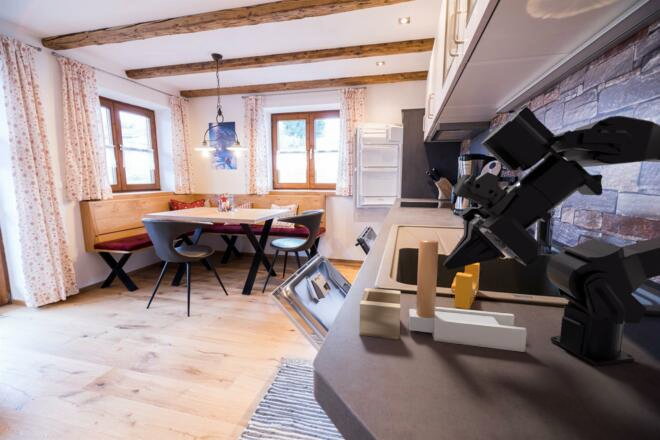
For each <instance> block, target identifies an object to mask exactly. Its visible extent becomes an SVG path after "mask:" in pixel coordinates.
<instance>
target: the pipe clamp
mask: <svg viewBox="0 0 660 440" xmlns="http://www.w3.org/2000/svg"><path fill="white" fill-rule="evenodd" d="M480 266H481V262H479V263H475V264H471V265H467V266H464V272H457V273H456V274H455V277H454V278H453V282H452V284H451V289H450V293H451V292H452V293H455V297H454V306H453V307H455V308H457V309H465V310H471V309H470V308H471V307H472V304H473V303H474V301H475V298H476V296H475V291H478V292H479V282H480V281H479V280H480V268H481V267H480ZM453 289H455V290H453ZM474 297H475V298H474Z"/></svg>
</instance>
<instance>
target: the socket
mask: <svg viewBox="0 0 660 440" xmlns="http://www.w3.org/2000/svg"><path fill="white" fill-rule="evenodd" d="M358 327H359V333H358V334H359V336H364V337H365V336H366V337H373V338H382V339H388V340H389V339H390V340H396V341H399V340H400V333H401V332H400V331H401V330H400V328H401V290H395V289H393V290H392V289H381V288H372V287H371V288H370V287H365V288H364V291H363V294H362V297H361V299H360V303H359V326H358Z"/></svg>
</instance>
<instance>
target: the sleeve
mask: <svg viewBox="0 0 660 440" xmlns="http://www.w3.org/2000/svg"><path fill="white" fill-rule="evenodd" d="M435 311H439V312H449V313H459V314H469V315H479V316H490V317H494V318H495V320H496V321H497V323H498V324H499V325H494V324H485V323H475V322H466V321H456V320H447V319H437V318H434V333H431V334H432V337H433V338H432V339H433V341H435V342H440V343H448V344H449V343H450V344H457V345H465V346H472V347H473V346H475V347H483V348H490V349H497V350H507V351H515V352H523V353H525V352H526V345H527V344H526V343H527V333H528V330H527V328H526V327H522V326H521V327H520V326H515V324H514V323H515V315H514V313H506V312H505V313H504V312H495V311H483V310H475V309H474V310H473V309H469V310H468V309H463V308H453V307H445V306H444V307H441V306H435Z"/></svg>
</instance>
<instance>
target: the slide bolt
mask: <svg viewBox="0 0 660 440" xmlns="http://www.w3.org/2000/svg"><path fill="white" fill-rule="evenodd" d="M417 257H418V259H417V261H418V262H417V282H416V283H417V285H416V306H415V308H409V309H408V313H409V314H408V327H409V328H408V330H409V331H417V332H423V333H431V334H432V333H434V318H437V319H447V320H456V321H466V322H475V323H485V324H494V325H499V324H498V323H497V321H496V320H495V318H494V317H490V316H479V315H469V314H459V313H449V312H439V311H435V307H436V299H437V282H438V281H437V278H438V260H439V259H438V257H439V240H438V241H437V240H435V239H419V240H418V256H417Z"/></svg>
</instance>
